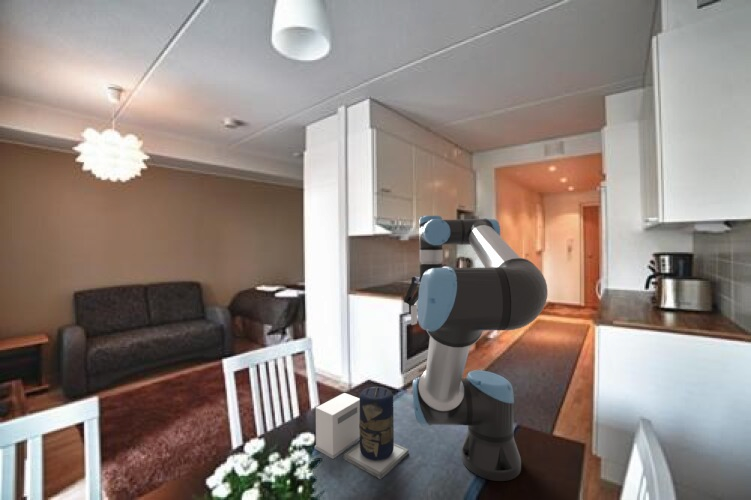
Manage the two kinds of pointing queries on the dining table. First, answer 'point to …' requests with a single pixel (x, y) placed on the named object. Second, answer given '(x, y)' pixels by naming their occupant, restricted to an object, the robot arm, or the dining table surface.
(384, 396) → the canister
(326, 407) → the unit
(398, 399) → the dining table surface
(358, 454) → the mat
